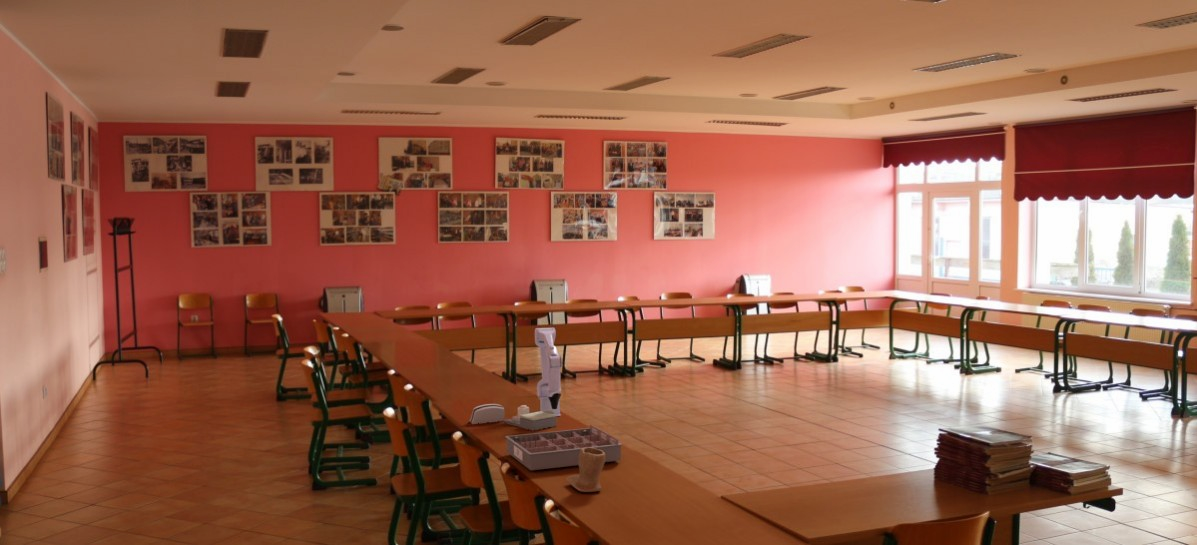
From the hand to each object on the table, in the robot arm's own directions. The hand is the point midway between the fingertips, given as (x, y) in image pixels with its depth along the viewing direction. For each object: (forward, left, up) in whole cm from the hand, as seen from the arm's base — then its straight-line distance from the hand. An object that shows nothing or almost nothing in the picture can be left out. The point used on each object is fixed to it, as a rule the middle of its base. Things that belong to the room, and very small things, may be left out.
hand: (554, 408), depth 452 cm
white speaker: (+22, -24, -7) cm, 33 cm away
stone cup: (+59, +90, -7) cm, 108 cm away
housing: (+10, -6, -7) cm, 14 cm away
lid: (+10, 0, -2) cm, 10 cm away
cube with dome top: (+10, -11, -6) cm, 16 cm away
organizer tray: (+39, +52, -8) cm, 66 cm away
